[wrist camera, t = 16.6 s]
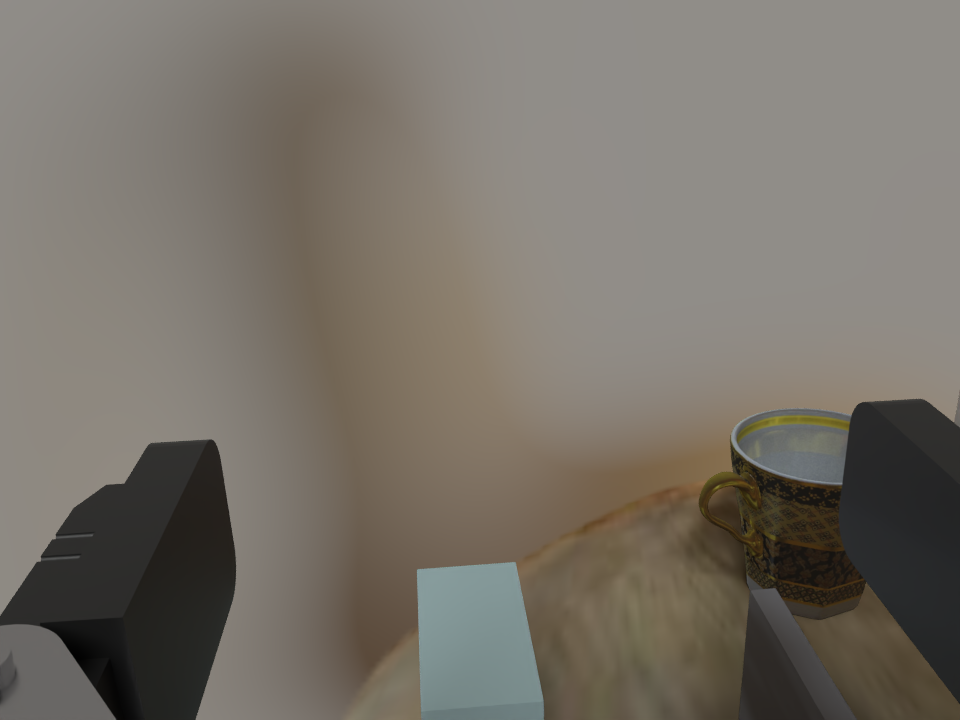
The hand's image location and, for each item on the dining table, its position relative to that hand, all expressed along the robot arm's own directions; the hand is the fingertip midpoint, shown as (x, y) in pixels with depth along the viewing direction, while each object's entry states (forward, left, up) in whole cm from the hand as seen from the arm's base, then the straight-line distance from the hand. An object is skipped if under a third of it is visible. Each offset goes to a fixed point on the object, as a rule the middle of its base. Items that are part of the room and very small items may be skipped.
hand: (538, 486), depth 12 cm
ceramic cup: (-20, -36, -29) cm, 50 cm away
